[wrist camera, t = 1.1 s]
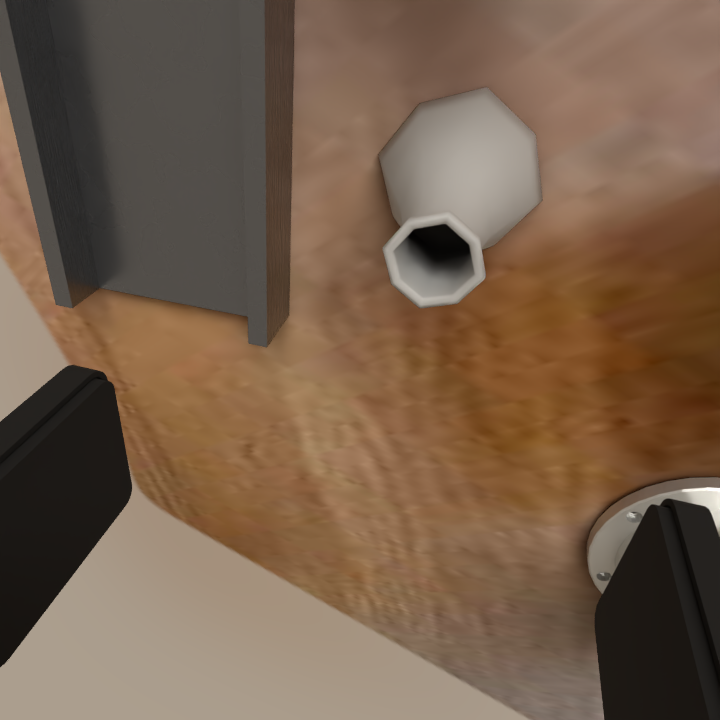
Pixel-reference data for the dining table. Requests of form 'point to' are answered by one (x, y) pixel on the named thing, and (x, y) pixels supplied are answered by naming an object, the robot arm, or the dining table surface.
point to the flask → (455, 192)
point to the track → (158, 147)
